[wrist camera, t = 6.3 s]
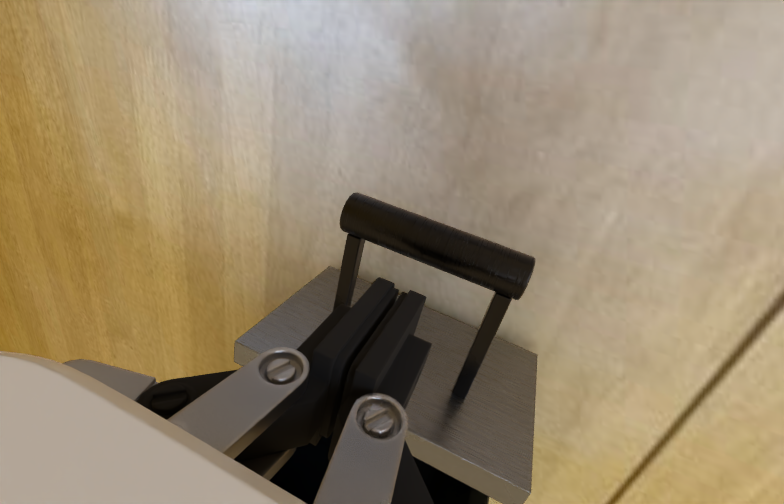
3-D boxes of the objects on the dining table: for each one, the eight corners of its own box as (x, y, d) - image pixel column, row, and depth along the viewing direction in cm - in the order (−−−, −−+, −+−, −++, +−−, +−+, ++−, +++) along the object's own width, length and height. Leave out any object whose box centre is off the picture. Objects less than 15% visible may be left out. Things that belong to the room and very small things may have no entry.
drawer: (349, 153, 19) (240, 186, 12) (601, 239, 16) (638, 343, 9) (301, 423, 29) (226, 524, 22) (453, 506, 26) (419, 650, 19)
